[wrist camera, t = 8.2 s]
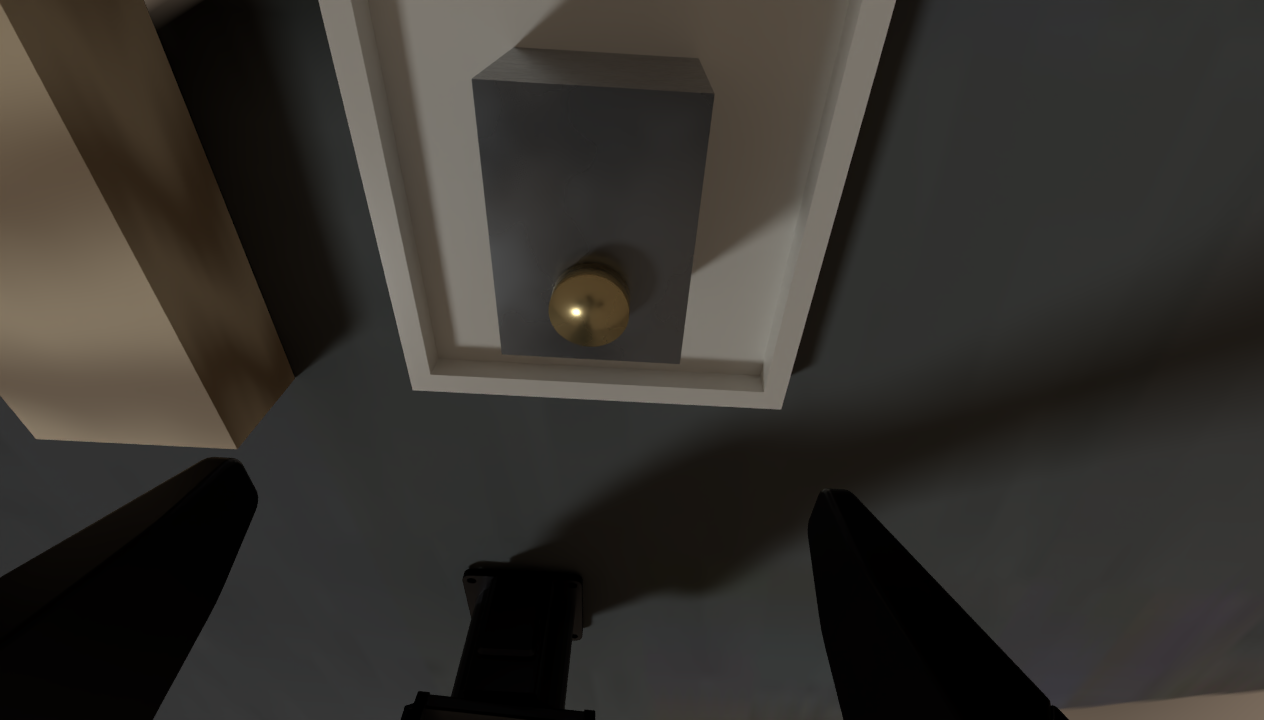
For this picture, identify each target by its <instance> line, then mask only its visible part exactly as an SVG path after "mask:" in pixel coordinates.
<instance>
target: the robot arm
mask: <svg viewBox="0 0 1264 720" xmlns="http://www.w3.org/2000/svg"><path fill="white" fill-rule="evenodd" d="M257 504H258V494H257V491H256V489H255V487H254V485H253V483H252V481H251V479H250V477H249V475H248V474H247V472H246V470H245V468H244V466H243V464H242V463H241V462H240V461H239V460H237V459H235V458H222V457H210V458H206V459H204V460H202V461H200V462H198V463H196V464H195V465H193V466H191V467H189V468H188V469H186V470H184V471H182V472H181V473H179V474H177V475H176V476H174V477H172V478H170V479H169V480H167V481H165V482H164V483H162V484H160V485H158V486H157V487H155V488H153V489H152V490H150V491H148V492H146V493H145V494H143V495H141V496H139V497H138V498H136V499H134V500H133V501H131V502H129V503H127V504H126V505H124V506H122V507H121V508H119V509H117V510H115V511H114V512H112V513H110V514H109V515H107V516H105V517H103V518H102V519H100V520H98V521H96V522H95V523H93V524H91V525H90V526H88V527H86V528H84V529H83V530H81V531H79V532H78V533H76V534H74V535H72V536H71V537H69V538H67V539H66V540H64V541H62V542H60V543H59V544H57V545H55V546H53V547H52V548H50V549H48V550H47V551H45V552H43V553H41V554H40V555H38V556H36V557H35V558H33V559H31V560H29V561H28V562H26V563H24V564H22V565H21V566H19V567H17V568H16V569H14V570H12V571H10V572H9V573H7V574H5V575H4V576H2V577H0V720H153V718H154V716H155V715H156V713H157V711H158V709H159V707H160V705H161V704H162V702H163V700H164V698H165V696H166V694H167V693H168V691H169V689H170V687H171V685H172V683H173V682H174V680H175V678H176V676H177V674H178V672H179V671H180V669H181V667H182V665H183V663H184V661H185V660H186V658H187V656H188V654H189V652H190V650H191V649H192V647H193V645H194V643H195V641H196V639H197V638H198V636H199V634H200V632H201V630H202V628H203V627H204V625H205V623H206V621H207V619H208V617H209V615H210V614H211V612H212V610H213V608H214V606H215V604H216V602H217V600H218V598H219V595H220V593H221V591H222V589H223V587H224V584H225V582H226V580H227V577H228V575H229V573H230V570H231V568H232V565H233V563H234V561H235V558H236V556H237V554H238V551H239V549H240V546H241V544H242V542H243V539H244V537H245V535H246V532H247V530H248V528H249V525H250V523H251V520H252V518H253V516H254V513H255V511H256V508H257ZM808 539H809V547H810V554H811V561H812V568H813V576H814V583H815V590H816V597H817V604H818V612H819V618H820V625H821V631H822V635H823V640H824V644H825V648H826V652H827V656H828V660H829V664H830V668H831V672H832V676H833V680H834V684H835V688H836V692H837V696H838V700H839V704H840V708H841V712H842V716H843V720H1069V719H1068V718H1067V717H1066V716H1065V715H1064V714H1063V713H1062V712H1061V711H1060V710H1059V709H1058V708H1057V707H1056V706H1053V705H1052V706H1051V704H1050V700H1049V699H1048V698H1047V697H1046V696H1045V695H1044V693H1043V692H1042V691H1041V690H1040V689H1039V688H1038V687H1037V686H1036V685H1035V684H1034V683H1033V682H1032V681H1031V680H1030V679H1029V678H1028V677H1027V676H1026V675H1025V674H1024V673H1023V671H1022V670H1021V669H1020V668H1019V667H1018V666H1017V665H1016V664H1015V663H1014V662H1013V661H1012V660H1011V659H1010V658H1009V657H1008V656H1007V655H1006V654H1005V653H1004V652H1003V650H1002V649H1001V648H1000V647H999V646H998V645H997V644H996V643H995V642H994V641H993V640H992V639H991V638H990V637H989V636H988V635H987V634H986V633H985V632H984V631H983V629H982V628H981V627H980V626H979V625H978V624H977V623H976V622H975V621H974V620H973V619H972V618H971V617H970V616H969V615H968V614H967V613H966V612H965V611H964V610H963V608H962V607H961V606H960V605H959V604H958V603H957V602H956V601H955V600H954V599H953V598H952V597H951V596H950V595H949V594H948V593H947V592H946V591H945V590H944V589H943V587H942V586H941V585H940V584H939V583H938V582H937V581H936V580H935V579H934V578H933V577H932V576H931V575H930V574H929V573H928V572H927V571H926V570H925V569H924V568H923V567H922V565H921V564H920V563H919V562H918V561H917V560H916V559H915V558H914V557H913V556H912V555H911V554H910V553H909V552H908V551H907V550H906V549H905V548H904V547H903V546H902V544H901V543H900V542H899V541H898V540H897V539H896V538H895V537H894V536H893V535H892V534H891V533H890V532H889V531H888V530H887V529H886V528H885V527H884V526H883V525H882V523H881V522H880V521H879V520H878V519H877V518H876V517H875V516H874V515H873V514H872V513H871V512H870V511H869V510H868V509H867V508H866V507H865V506H864V505H863V504H862V502H861V501H860V500H859V499H858V498H857V497H856V496H855V495H854V494H853V493H851V492H850V491H848V490H844V489H823V490H822V491H821V492H820V494H819V496H818V498H817V501H816V503H815V506H814V509H813V511H812V514H811V517H810V519H809V523H808ZM463 585H464V589H465V593H466V597H467V602H468V606H469V610H470V614H471V622H470V626H469V630H468V634H467V637H466V641H465V645H464V649H463V653H462V656H461V660H460V664H459V668H458V672H457V676H456V679H455V683H454V687H453V691H452V695H451V697H448V696H439V695H430V692H422V691H418V693H417V696H416V699H415V702H414V703H413V704H410V705H406V706H405V708H404V711H403V714H402V717H401V720H595V711H594V710H584V711H574V710H565V700H566V691H567V681H568V672H569V663H570V654H571V645H572V640H573V641H575V640H580V639H581V638H582V633H583V586H582V577H581V576H579V575H577V574H567V573H546V572H526V571H505V570H485V569H468V570H466V571H465V572H464V576H463Z"/></svg>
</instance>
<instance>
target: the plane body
mask: <svg viewBox="0 0 1264 720" xmlns="http://www.w3.org/2000/svg"><path fill="white" fill-rule="evenodd" d="M294 379H295V377H294V374H293V372H292V369H291V367H290V364H289V362H288V359H287V357H286V354H285V352H284V349H283V347H282V344H281V342H280V339H279V337H278V334H277V332H276V329H275V327H274V324H273V322H272V319H271V317H270V314H269V312H268V309H267V307H266V304H265V302H264V299H263V297H262V294H261V292H260V289H259V287H258V284H257V282H256V279H255V277H254V274H253V272H252V269H251V267H250V264H249V262H248V259H247V257H246V254H245V252H244V249H243V247H242V244H241V242H240V239H239V237H238V234H237V232H236V229H235V227H234V224H233V222H232V219H231V217H230V214H229V212H228V209H227V207H226V204H225V202H224V199H223V197H222V194H221V192H220V189H219V187H218V184H217V182H216V179H215V177H214V174H213V172H212V169H211V167H210V164H209V162H208V159H207V157H206V154H205V152H204V149H203V147H202V144H201V142H200V139H199V137H198V134H197V132H196V129H195V127H194V124H193V122H192V119H191V117H190V114H189V112H188V109H187V107H186V104H185V102H184V99H183V97H182V94H181V92H180V89H179V87H178V84H177V82H176V79H175V77H174V75H173V72H172V70H171V67H170V65H169V62H168V60H167V57H166V55H165V52H164V50H163V47H162V45H161V42H160V40H159V37H158V35H157V32H156V30H155V27H154V25H153V22H152V20H151V17H150V15H149V12H148V10H147V7H146V5H145V2H144V0H0V396H1V397H2V398H3V399H4V401H5V402H6V403H7V404H8V405H9V407H10V408H11V409H12V410H13V411H14V413H15V414H16V415H17V416H18V418H19V419H20V420H21V421H22V422H23V424H24V425H25V426H26V427H27V428H28V430H29V431H30V432H31V433H32V434H33V436H34V437H35V438H36V439H48V440H67V441H87V442H106V443H126V444H145V445H165V446H184V447H204V448H223V449H238V448H239V446H240V445H241V444H242V443H243V442H244V440H245V439H246V438H247V437H248V435H249V434H250V433H251V432H252V431H253V429H254V428H255V427H256V426H257V424H258V423H259V422H260V421H261V420H262V418H263V417H264V416H265V415H266V413H267V412H268V411H269V410H270V408H271V407H272V406H273V405H274V404H275V402H276V401H277V400H278V399H279V397H280V396H281V395H282V394H283V393H284V391H285V390H286V389H287V388H288V386H289V385H290V384H291V383H292V382H293V380H294Z"/></svg>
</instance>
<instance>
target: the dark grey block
mask: <svg viewBox="0 0 1264 720" xmlns="http://www.w3.org/2000/svg"><path fill="white" fill-rule="evenodd" d="M472 89H473V98H474V107H475V116H476V125H477V134H478V143H479V152H480V161H481V170H482V179H483V188H484V198H485V207H486V216H487V225H488V234H489V243H490V252H491V261H492V270H493V279H494V288H495V297H496V306H497V316H498V325H499V334H500V343H501V352H502V354H503V355H521V356H540V357H558V358H576V359H595V360H613V361H631V362H650V363H668V364H680V359H681V351H682V343H683V336H684V328H685V320H686V312H687V304H688V297H689V289H690V281H691V273H692V266H693V258H694V250H695V242H696V235H697V227H698V219H699V211H700V204H701V196H702V188H703V180H704V173H705V165H706V157H707V149H708V141H709V134H710V126H711V118H712V110H713V103H714V95H715V93H714V91H713V89H712V87H711V84H710V82H709V80H708V78H707V76H706V74H705V71H704V69H703V67H702V65H701V63H700V60H699V58H684V57H668V56H652V55H635V54H619V53H603V52H587V51H570V50H554V49H538V48H522V47H513V48H512V49H511V50H509V51H508V52H507V53H505V54H504V55H503V56H501V57H500V58H499V59H497V60H496V61H495V62H493V63H492V64H491V65H489V66H488V67H487V68H485V69H484V70H483V71H481V72H480V73H479V74H477V75H476V76H475V77H473V78H472Z"/></svg>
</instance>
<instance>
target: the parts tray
mask: <svg viewBox="0 0 1264 720" xmlns="http://www.w3.org/2000/svg"><path fill="white" fill-rule="evenodd" d="M318 1H319V5H320V9H321V13H322V17H323V21H324V25H325V29H326V34H327V38H328V42H329V46H330V50H331V54H332V58H333V62H334V67H335V71H336V75H337V79H338V83H339V87H340V91H341V96H342V100H343V104H344V108H345V112H346V116H347V120H348V124H349V129H350V133H351V137H352V141H353V145H354V149H355V153H356V158H357V162H358V166H359V170H360V174H361V178H362V182H363V186H364V191H365V195H366V199H367V203H368V207H369V211H370V215H371V219H372V224H373V228H374V232H375V236H376V240H377V244H378V248H379V253H380V257H381V261H382V265H383V269H384V273H385V277H386V281H387V286H388V290H389V294H390V298H391V302H392V306H393V310H394V314H395V319H396V323H397V327H398V331H399V335H400V339H401V343H402V348H403V352H404V356H405V360H406V364H407V368H408V372H409V376H410V381H411V385H412V389H413V390H420V391H439V392H458V393H477V394H496V395H515V396H534V397H553V398H572V399H591V400H610V401H629V402H648V403H667V404H686V405H705V406H724V407H743V408H762V409H781V408H782V404H783V401H784V397H785V394H786V390H787V387H788V383H789V380H790V376H791V372H792V369H793V365H794V362H795V358H796V355H797V351H798V347H799V344H800V340H801V337H802V333H803V330H804V326H805V323H806V319H807V315H808V312H809V308H810V305H811V301H812V298H813V294H814V291H815V287H816V283H817V280H818V276H819V273H820V269H821V266H822V262H823V259H824V255H825V251H826V248H827V244H828V241H829V237H830V234H831V230H832V226H833V223H834V219H835V216H836V212H837V209H838V205H839V202H840V198H841V194H842V191H843V187H844V184H845V180H846V177H847V173H848V170H849V166H850V162H851V159H852V155H853V152H854V148H855V145H856V141H857V138H858V134H859V130H860V127H861V123H862V120H863V116H864V113H865V109H866V105H867V102H868V98H869V95H870V91H871V88H872V84H873V81H874V77H875V73H876V70H877V66H878V63H879V59H880V56H881V52H882V49H883V45H884V41H885V38H886V34H887V31H888V27H889V24H890V20H891V17H892V13H893V9H894V6H895V2H896V0H318ZM513 47H522V48H538V49H554V50H570V51H587V52H603V53H619V54H635V55H652V56H668V57H684V58H699V60H700V63H701V65H702V67H703V69H704V71H705V74H706V76H707V78H708V80H709V82H710V84H711V87H712V89H713V91H714V93H715V95H714V103H713V110H712V118H711V126H710V134H709V141H708V149H707V157H706V165H705V173H704V180H703V188H702V196H701V204H700V211H699V219H698V227H697V235H696V242H695V250H694V258H693V266H692V273H691V281H690V289H689V297H688V304H687V312H686V320H685V328H684V336H683V343H682V351H681V359H680V364H668V363H650V362H631V361H613V360H595V359H576V358H558V357H540V356H521V355H503V354H502V352H501V343H500V334H499V325H498V316H497V306H496V297H495V288H494V279H493V270H492V261H491V252H490V243H489V234H488V225H487V216H486V207H485V198H484V188H483V179H482V170H481V161H480V152H479V143H478V134H477V125H476V116H475V107H474V98H473V89H472V78H473V77H475V76H476V75H477V74H479V73H480V72H481V71H483V70H484V69H485V68H487V67H488V66H489V65H491V64H492V63H493V62H495V61H496V60H497V59H499V58H500V57H501V56H503V55H504V54H505V53H507V52H508V51H509V50H511V49H512V48H513Z"/></svg>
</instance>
